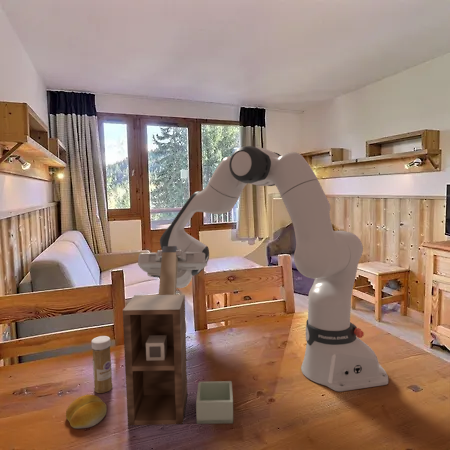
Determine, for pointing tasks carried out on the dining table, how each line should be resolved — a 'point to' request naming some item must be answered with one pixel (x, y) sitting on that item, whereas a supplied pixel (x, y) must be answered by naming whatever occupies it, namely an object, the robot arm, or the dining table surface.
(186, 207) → the robot arm
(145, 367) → the walnut shelf
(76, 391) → the dining table surface
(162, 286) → the birch bar
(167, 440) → the dining table surface
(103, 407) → the bread roll
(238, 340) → the dining table surface
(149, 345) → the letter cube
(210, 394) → the green box
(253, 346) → the dining table surface
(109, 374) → the sprinkles bottle
